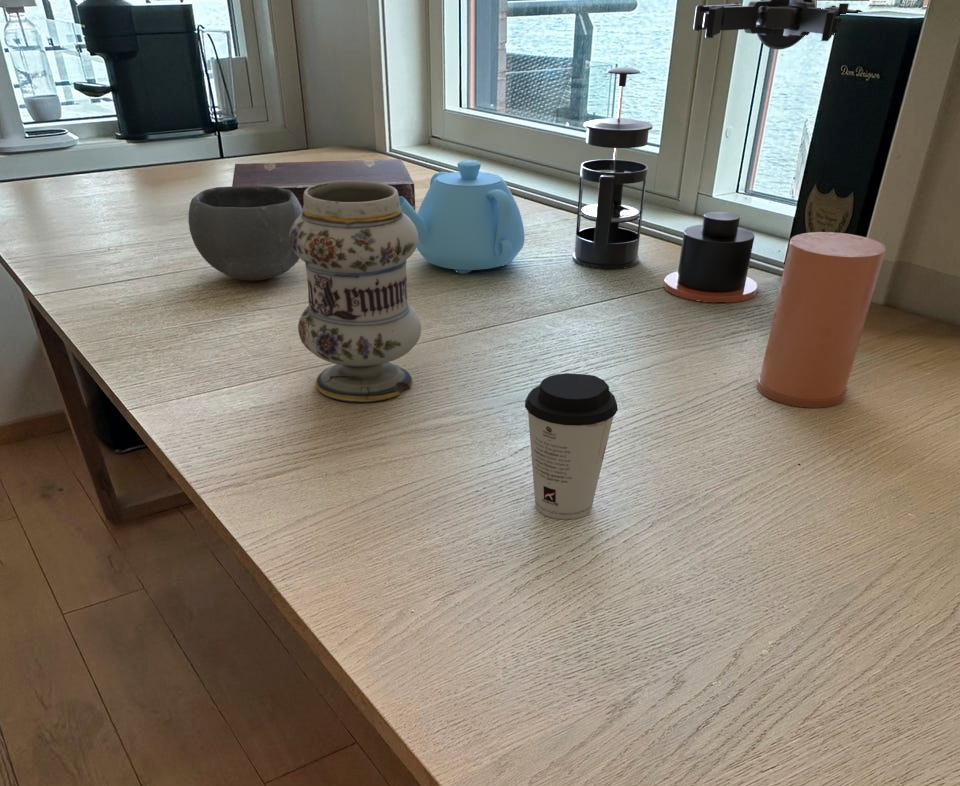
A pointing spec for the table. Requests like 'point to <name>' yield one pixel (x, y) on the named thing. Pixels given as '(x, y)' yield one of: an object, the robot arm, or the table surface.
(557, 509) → the coffee cup
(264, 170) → the hardback book
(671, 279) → the coaster
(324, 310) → the apothecary jar
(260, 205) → the bowl
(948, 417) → the table surface
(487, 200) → the teapot
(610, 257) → the french press
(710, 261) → the shaker lid
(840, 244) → the cylinder
